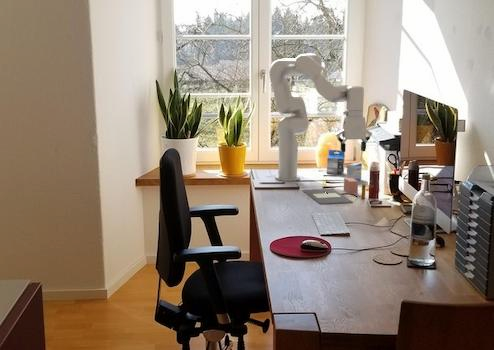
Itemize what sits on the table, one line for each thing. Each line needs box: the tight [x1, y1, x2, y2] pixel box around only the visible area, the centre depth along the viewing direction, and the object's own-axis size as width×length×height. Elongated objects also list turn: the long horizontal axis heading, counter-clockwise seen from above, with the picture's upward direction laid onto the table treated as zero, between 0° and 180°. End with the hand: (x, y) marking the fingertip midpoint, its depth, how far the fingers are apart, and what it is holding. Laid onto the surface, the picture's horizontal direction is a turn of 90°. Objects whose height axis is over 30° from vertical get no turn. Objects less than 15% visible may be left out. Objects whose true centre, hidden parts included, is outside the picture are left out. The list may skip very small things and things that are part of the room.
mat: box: [302, 188, 354, 205], centre depth 259 cm, size 24×15×1 cm, turn 13°
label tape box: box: [326, 149, 346, 175], centre depth 306 cm, size 9×4×12 cm, turn 73°
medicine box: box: [346, 162, 363, 182], centre depth 290 cm, size 8×4×9 cm, turn 143°
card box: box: [343, 177, 359, 195], centre depth 267 cm, size 7×4×6 cm, turn 13°
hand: (353, 151), depth 263 cm, fingers open, 9 cm apart
